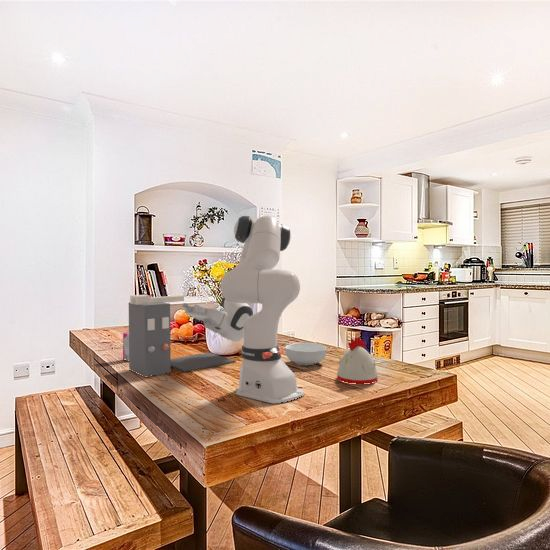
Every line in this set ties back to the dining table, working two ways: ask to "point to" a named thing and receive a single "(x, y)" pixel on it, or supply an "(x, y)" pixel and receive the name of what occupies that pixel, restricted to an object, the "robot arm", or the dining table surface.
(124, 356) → the supplement box
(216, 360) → the rubber mat
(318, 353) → the cereal bowl
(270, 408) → the dining table surface
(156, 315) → the switch panel
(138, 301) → the paddle lever
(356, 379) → the beanie hat
